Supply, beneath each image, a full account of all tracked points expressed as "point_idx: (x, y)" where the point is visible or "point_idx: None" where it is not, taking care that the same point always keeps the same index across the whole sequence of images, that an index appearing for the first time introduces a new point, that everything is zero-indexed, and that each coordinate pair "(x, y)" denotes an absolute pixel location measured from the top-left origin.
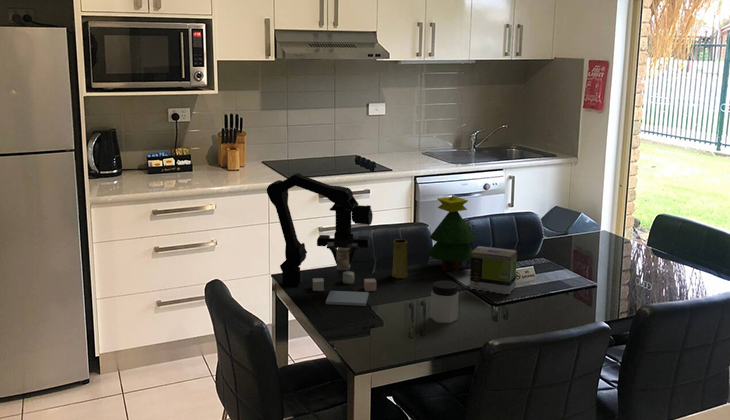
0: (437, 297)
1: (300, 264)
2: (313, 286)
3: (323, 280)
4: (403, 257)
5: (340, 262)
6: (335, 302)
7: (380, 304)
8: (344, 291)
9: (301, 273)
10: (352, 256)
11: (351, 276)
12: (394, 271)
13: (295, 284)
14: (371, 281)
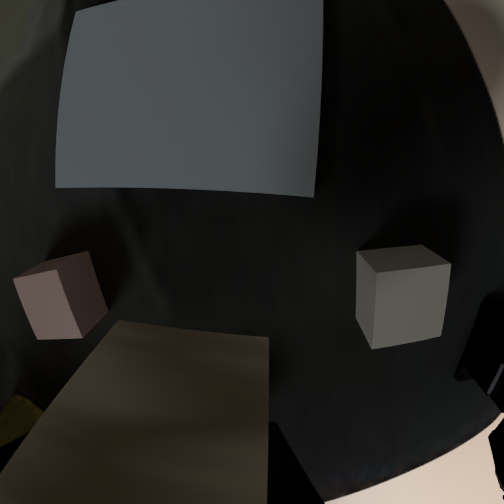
0: None
1: (493, 435)
2: (431, 252)
3: (376, 304)
4: None
5: (199, 399)
6: None
7: (23, 62)
8: (202, 186)
9: (484, 382)
10: (11, 442)
11: None
12: (31, 426)
13: (492, 316)
14: (34, 288)
